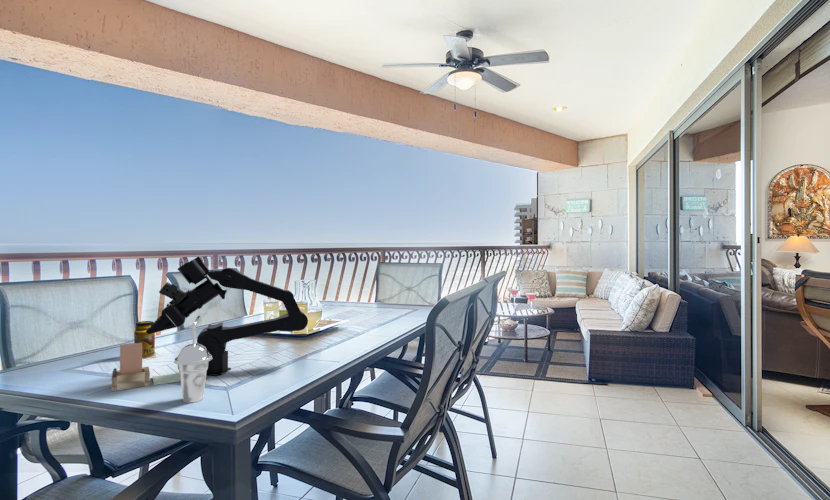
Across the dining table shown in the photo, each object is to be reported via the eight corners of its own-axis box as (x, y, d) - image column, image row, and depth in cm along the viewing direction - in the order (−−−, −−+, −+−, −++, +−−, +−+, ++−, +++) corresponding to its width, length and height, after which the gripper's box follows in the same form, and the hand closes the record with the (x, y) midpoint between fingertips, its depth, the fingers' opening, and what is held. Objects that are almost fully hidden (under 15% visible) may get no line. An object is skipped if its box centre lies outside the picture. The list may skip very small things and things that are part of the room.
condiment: (156, 357, 145) (156, 322, 145) (126, 360, 140) (126, 324, 140) (155, 353, 151) (155, 319, 151) (126, 356, 146) (127, 321, 146)
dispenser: (148, 378, 121) (148, 364, 121) (149, 385, 115) (149, 370, 115) (112, 383, 116) (112, 368, 116) (111, 391, 110) (111, 375, 110)
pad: (182, 373, 126) (182, 372, 126) (185, 380, 119) (185, 379, 119) (152, 377, 122) (152, 376, 122) (154, 385, 115) (154, 383, 115)
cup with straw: (165, 404, 101) (165, 321, 101) (191, 391, 110) (192, 315, 110) (196, 406, 99) (197, 322, 99) (220, 394, 108) (221, 316, 108)
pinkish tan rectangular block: (141, 381, 118) (142, 342, 118) (141, 384, 115) (142, 344, 116) (119, 384, 115) (120, 344, 115) (119, 387, 113) (120, 346, 113)
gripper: (183, 272, 132) (135, 303, 127) (179, 277, 115) (123, 312, 110) (206, 300, 135) (160, 331, 129) (205, 308, 118) (152, 345, 113)
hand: (149, 329), depth 120 cm, fingers open, 9 cm apart
